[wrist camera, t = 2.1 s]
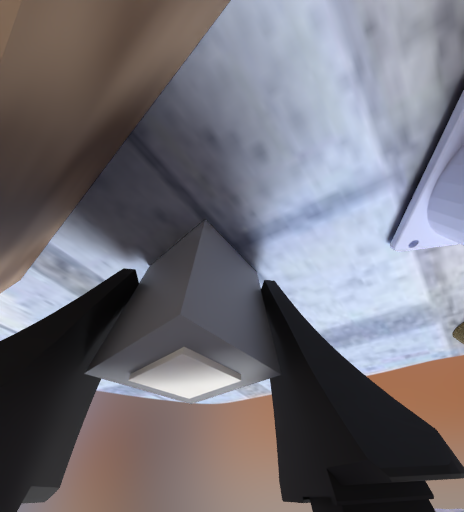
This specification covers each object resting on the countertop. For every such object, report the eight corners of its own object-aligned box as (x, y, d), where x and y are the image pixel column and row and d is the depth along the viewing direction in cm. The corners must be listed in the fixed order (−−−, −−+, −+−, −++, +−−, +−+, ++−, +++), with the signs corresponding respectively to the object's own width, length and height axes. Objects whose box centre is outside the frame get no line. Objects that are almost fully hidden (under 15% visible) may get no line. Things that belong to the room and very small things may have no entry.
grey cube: (205, 219, 9) (178, 321, 4) (256, 272, 11) (282, 380, 6) (149, 266, 11) (79, 380, 6) (204, 304, 13) (190, 409, 8)
